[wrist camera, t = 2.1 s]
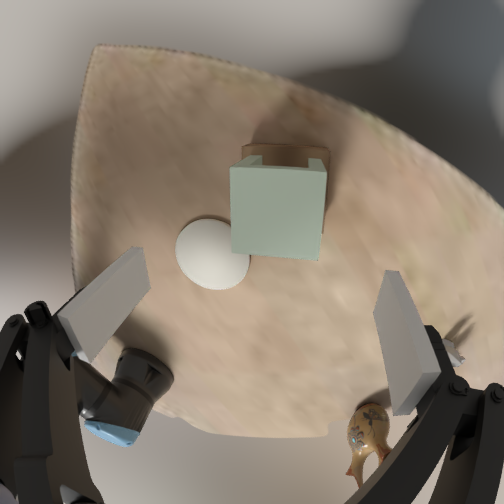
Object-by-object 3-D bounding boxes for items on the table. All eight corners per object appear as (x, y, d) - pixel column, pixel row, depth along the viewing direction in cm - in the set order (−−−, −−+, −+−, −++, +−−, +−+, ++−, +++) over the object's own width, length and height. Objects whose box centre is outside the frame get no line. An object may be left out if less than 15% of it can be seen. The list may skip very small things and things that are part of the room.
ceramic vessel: (371, 387, 51) (378, 489, 29) (400, 393, 51) (412, 486, 29) (334, 419, 59) (329, 505, 37) (362, 424, 58) (362, 504, 36)
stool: (250, 220, 34) (231, 253, 26) (250, 155, 30) (229, 167, 22) (315, 225, 32) (318, 260, 24) (320, 159, 29) (327, 172, 21)
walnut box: (249, 214, 39) (242, 227, 34) (250, 143, 34) (241, 146, 30) (321, 219, 37) (323, 233, 33) (326, 147, 32) (330, 151, 28)
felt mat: (181, 282, 46) (180, 285, 46) (173, 216, 41) (171, 218, 40) (249, 290, 44) (249, 293, 44) (249, 221, 39) (248, 222, 38)
